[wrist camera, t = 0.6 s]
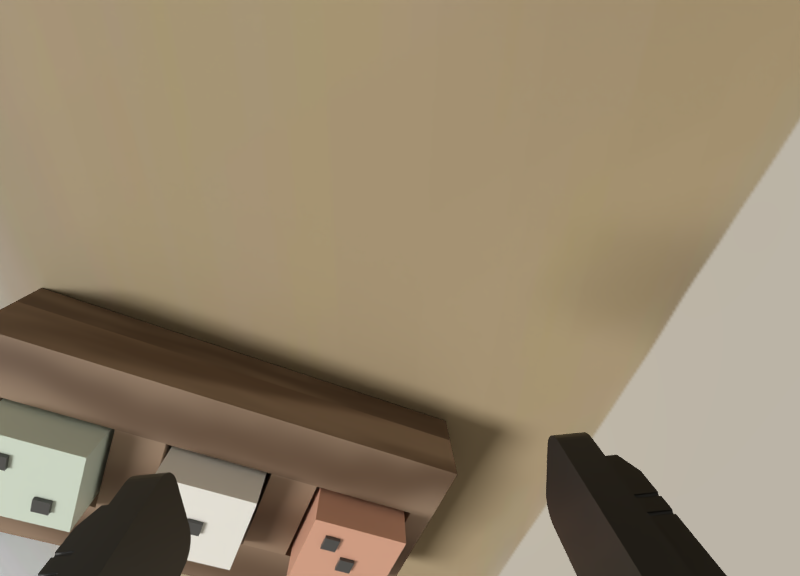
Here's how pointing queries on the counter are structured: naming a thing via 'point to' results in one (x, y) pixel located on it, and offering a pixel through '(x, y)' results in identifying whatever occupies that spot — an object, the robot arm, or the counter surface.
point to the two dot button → (49, 465)
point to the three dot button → (346, 537)
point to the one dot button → (214, 503)
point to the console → (219, 422)
